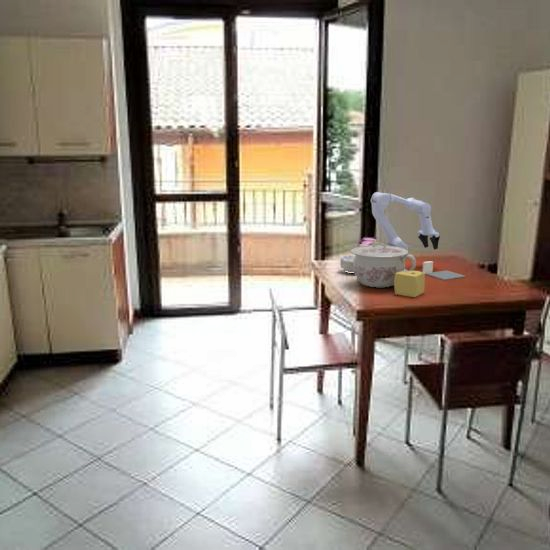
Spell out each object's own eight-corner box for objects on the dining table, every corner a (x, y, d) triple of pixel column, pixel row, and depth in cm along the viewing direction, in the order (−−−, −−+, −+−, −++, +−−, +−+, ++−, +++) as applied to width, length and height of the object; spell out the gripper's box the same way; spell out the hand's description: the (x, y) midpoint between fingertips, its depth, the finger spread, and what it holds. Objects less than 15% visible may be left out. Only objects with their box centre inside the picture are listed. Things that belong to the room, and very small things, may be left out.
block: (424, 274, 286) (425, 262, 284) (422, 273, 287) (422, 262, 286) (432, 273, 288) (433, 261, 286) (429, 272, 289) (430, 261, 288)
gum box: (369, 269, 299) (370, 244, 295) (355, 268, 301) (355, 244, 298) (377, 260, 320) (377, 237, 317) (363, 259, 323) (364, 236, 320)
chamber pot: (339, 281, 274) (340, 240, 269) (386, 275, 284) (388, 235, 279) (368, 295, 249) (369, 250, 244) (419, 288, 259) (421, 245, 254)
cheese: (403, 289, 258) (404, 268, 255) (425, 293, 251) (426, 271, 248) (393, 294, 250) (394, 273, 247) (415, 298, 243) (416, 276, 241)
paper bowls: (369, 276, 284) (369, 261, 282) (339, 275, 286) (339, 260, 284) (369, 269, 298) (369, 255, 296) (341, 268, 301) (341, 254, 299)
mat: (444, 280, 272) (444, 279, 272) (425, 274, 284) (425, 273, 284) (465, 277, 278) (465, 275, 278) (446, 271, 290) (446, 270, 290)
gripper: (441, 222, 287) (446, 247, 291) (423, 220, 300) (428, 243, 304) (431, 227, 284) (436, 251, 288) (413, 225, 297) (418, 248, 301)
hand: (431, 248), depth 296 cm, fingers open, 7 cm apart
